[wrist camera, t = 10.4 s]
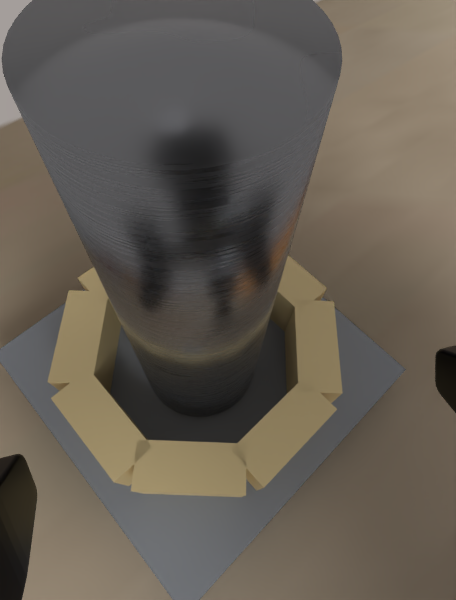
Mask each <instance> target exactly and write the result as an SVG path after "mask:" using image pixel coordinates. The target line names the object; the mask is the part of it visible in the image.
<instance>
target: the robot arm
mask: <svg viewBox="0 0 456 600" xmlns="http://www.w3.org/2000/svg"><path fill="white" fill-rule="evenodd" d="M435 382H436V387H437V389H438V391H439V393H440V394H441V396H442V397H443V398H444V399H445V400H446V402H447V403H448V404H449V405H450V407H451V408H452V409H453V410H454V411H455V413H456V346H451V347H447V348H443V349H440V350H439V351H437V353H436V361H435ZM36 503H37V489H36V485H35V483H34V480H33V478H32V475H31V472H30V470H29V467H28V465H27V462H26V460H25V458H24V457H23V455H21V454H15V455H11V456H7V457H3V458H0V600H22V596H23V592H24V587H25V583H26V578H27V572H28V565H29V558H30V550H31V542H32V535H33V527H34V519H35V511H36Z"/></svg>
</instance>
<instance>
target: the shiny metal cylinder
mask: <svg viewBox="0 0 456 600" xmlns="http://www.w3.org/2000/svg"><path fill="white" fill-rule="evenodd" d="M2 65H3V74H4V77H5V79H6V82H7V85H8V88H9V90H10V92H11V94H12V96H13V99H14V101H15V103H16V105H17V107H18V109H19V111H20V113H21V115H22V117H23V119H24V122H25V124H26V126H27V128H28V130H29V132H30V134H31V136H32V138H33V140H34V142H35V145H36V147H37V149H38V151H39V153H40V155H41V157H42V159H43V161H44V163H45V165H46V168H47V170H48V172H49V174H50V176H51V178H52V180H53V182H54V184H55V186H56V189H57V191H58V193H59V195H60V197H61V199H62V201H63V203H64V205H65V207H66V209H67V212H68V214H69V216H70V218H71V220H72V222H73V224H74V226H75V228H76V230H77V232H78V235H79V237H80V239H81V241H82V243H83V245H84V247H85V249H86V251H87V253H88V256H89V258H90V260H91V262H92V264H93V266H94V268H95V270H96V272H97V274H98V276H99V279H100V281H101V283H102V285H103V287H104V289H105V291H106V293H107V295H108V297H109V299H110V302H111V304H112V306H113V308H114V310H115V312H116V314H117V316H118V318H119V320H120V323H121V325H122V327H123V329H124V331H125V333H126V335H127V337H128V339H129V341H130V343H131V346H132V348H133V350H134V352H135V354H136V356H137V358H138V360H139V362H140V364H141V366H142V369H143V371H144V373H145V375H146V377H147V379H148V381H149V383H150V385H151V387H152V389H153V391H154V393H155V394H156V396H157V397H158V398H159V399H160V400H161V401H162V402H163V403H164V404H165V405H166V406H167V407H169V408H170V409H172V410H174V411H176V412H178V413H181V414H183V415H187V416H194V417H206V416H212V415H216V414H219V413H221V412H223V411H226V410H227V409H229V408H231V407H232V406H233V405H235V404H236V403H237V402H238V401H239V400H240V399H241V398H242V397H243V396H244V394H245V393H246V391H247V390H248V388H249V386H250V384H251V381H252V378H253V375H254V371H255V368H256V364H257V361H258V357H259V354H260V350H261V347H262V343H263V340H264V336H265V333H266V330H267V326H268V323H269V319H270V316H271V312H272V309H273V305H274V302H275V298H276V295H277V291H278V288H279V284H280V281H281V278H282V274H283V271H284V267H285V264H286V260H287V257H288V253H289V250H290V246H291V243H292V239H293V236H294V232H295V229H296V226H297V222H298V219H299V215H300V212H301V208H302V205H303V201H304V198H305V194H306V191H307V187H308V184H309V180H310V177H311V174H312V170H313V167H314V163H315V160H316V156H317V153H318V149H319V146H320V142H321V139H322V135H323V132H324V129H325V125H326V122H327V118H328V115H329V111H330V108H331V104H332V101H333V97H334V94H335V90H336V87H337V83H338V80H339V77H340V72H341V65H342V50H341V45H340V41H339V37H338V34H337V32H336V30H335V28H334V26H333V24H332V22H331V21H330V20H329V18H328V17H327V15H326V14H325V13H324V11H323V10H322V9H321V8H320V7H319V6H318V5H317V4H316V3H315V2H314V1H313V0H33V1H32V2H30V3H29V4H28V5H27V6H26V7H25V8H24V9H23V10H22V12H21V13H20V14H19V15H18V17H17V18H16V19H15V21H14V23H13V24H12V26H11V28H10V29H9V31H8V33H7V36H6V39H5V42H4V46H3V53H2Z"/></svg>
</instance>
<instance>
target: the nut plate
mask: <svg viewBox="0 0 456 600" xmlns="http://www.w3.org/2000/svg"><path fill="white" fill-rule="evenodd" d="M78 279H79V281H80V283H81V284H82V286H83V288H84V290H83V291H74V290H69V291H68V296H67V300H66V303H64V304H63V305H61V306H60V307H59V308H57V309H56V310H54V311H53V312H51V313H50V314H49V315H47V316H46V317H44V318H43V319H41V320H40V321H39V322H37V323H36V324H34V325H33V326H32V327H30V328H29V329H27V330H26V331H24V332H23V333H22V334H20V335H19V336H17V337H16V338H15V339H13V340H12V341H10V342H9V343H7V344H6V345H5V346H3V347H2V348H0V362H1V364H2V365H3V367H4V368H5V369H6V371H7V372H8V373H9V375H10V376H11V378H12V379H13V380H14V382H15V383H16V384H17V386H18V387H19V389H20V390H21V391H22V393H23V394H24V395H25V397H26V398H27V400H28V401H29V402H30V404H31V405H32V406H33V408H34V409H35V411H36V412H37V413H38V415H39V416H40V417H41V419H42V420H43V422H44V423H45V424H46V426H47V427H48V428H49V430H50V431H51V433H52V434H53V435H54V437H55V438H56V439H57V441H58V442H59V444H60V445H61V446H62V448H63V449H64V450H65V452H66V453H67V455H68V456H69V457H70V459H71V460H72V461H73V463H74V464H75V466H76V467H77V468H78V470H79V471H80V472H81V474H82V475H83V477H84V478H85V479H86V481H87V482H88V483H89V485H90V486H91V488H92V489H93V490H94V492H95V493H96V494H97V496H98V497H99V499H100V500H101V501H102V503H103V504H104V506H105V507H106V508H107V510H108V511H109V512H110V514H111V515H112V517H113V518H114V519H115V521H116V522H117V523H118V525H119V526H120V528H121V529H122V530H123V532H124V533H125V534H126V536H127V537H128V539H129V540H130V541H131V543H132V544H133V545H134V547H135V548H136V550H137V551H138V552H139V554H140V555H141V556H142V558H143V559H144V561H145V562H146V563H147V565H148V566H149V567H150V569H151V570H152V572H153V573H154V574H155V576H156V577H157V578H158V580H159V581H160V583H161V584H162V585H163V587H164V588H165V589H166V591H167V592H168V594H169V595H170V596H171V598H172V599H173V600H200V598H201V597H202V596H203V595H204V594H205V593H206V592H207V591H208V589H209V588H210V587H211V586H212V585H213V584H214V583H215V582H216V581H217V579H218V578H219V577H220V576H221V575H222V574H223V573H224V572H225V571H226V569H227V568H228V567H229V566H230V565H231V564H232V563H233V562H234V560H235V559H236V558H237V557H238V556H239V555H240V554H241V553H242V552H243V550H244V549H245V548H246V547H247V546H248V545H249V544H250V543H251V542H252V540H253V539H254V538H255V537H256V536H257V535H258V534H259V533H260V531H261V530H262V529H263V528H264V527H265V526H266V525H267V524H268V523H269V521H270V520H271V519H272V518H273V517H274V516H275V515H276V514H277V513H278V511H279V510H280V509H281V508H282V507H283V506H284V505H285V504H286V503H287V501H288V500H289V499H290V498H291V497H292V496H293V495H294V494H295V492H296V491H297V490H298V489H299V488H300V487H301V486H302V485H303V484H304V482H305V481H306V480H307V479H308V478H309V477H310V476H311V475H312V474H313V472H314V471H315V470H316V469H317V468H318V467H319V466H320V465H321V463H322V462H323V461H324V460H325V459H326V458H327V457H328V456H329V455H330V453H331V452H332V451H333V450H334V449H335V448H336V447H337V446H338V445H339V443H340V442H341V441H342V440H343V439H344V438H345V437H346V436H347V434H348V433H349V432H350V431H351V430H352V429H353V428H354V427H355V426H356V424H357V423H358V422H359V421H360V420H361V419H362V418H363V417H364V416H365V414H366V413H367V412H368V411H369V410H370V409H371V408H372V407H373V405H374V404H375V403H376V402H377V401H378V400H379V399H380V398H381V397H382V395H383V394H384V393H385V392H386V391H387V390H388V389H389V388H390V387H391V385H392V384H393V383H394V382H395V381H396V380H397V379H398V378H399V377H400V375H401V374H402V373H403V372H404V371H405V370H406V369H405V368H404V367H402V366H401V365H400V364H399V363H398V362H397V361H396V360H394V359H393V358H392V357H391V356H390V355H389V354H388V353H386V352H385V351H384V350H383V349H382V348H381V347H380V346H378V345H377V344H376V343H375V342H374V341H373V340H372V339H370V338H369V337H368V336H367V335H366V334H365V333H363V332H362V331H361V330H360V329H359V328H358V327H357V326H355V325H354V324H353V323H352V322H351V321H350V320H349V319H347V318H346V317H345V316H344V315H343V314H342V313H341V312H339V311H338V310H337V309H336V308H335V307H334V301H327V300H326V299H324V298H323V295H324V293H325V291H326V289H327V288H326V287H325V286H324V285H323V284H321V283H320V282H319V281H318V280H317V279H316V278H314V277H313V276H312V275H311V274H310V273H309V272H307V271H306V270H305V269H304V268H303V267H302V266H300V265H299V264H298V263H297V262H296V261H295V260H293V259H292V258H291V257H290V256H289V255H288V257H287V260H286V264H285V267H284V271H283V274H282V278H281V281H280V284H279V288H278V291H277V295H276V298H275V302H274V305H273V309H272V312H271V316H270V319H269V323H268V326H267V330H266V333H265V336H264V340H263V343H262V347H261V350H260V354H259V357H258V361H257V364H256V368H255V371H254V375H253V378H252V381H251V384H250V386H249V388H248V390H247V391H246V393H245V394H244V396H243V397H242V398H241V399H240V400H239V401H238V402H237V403H236V404H235V405H233V406H232V407H231V408H229V409H227V410H226V411H223V412H221V413H219V414H216V415H212V416H206V417H194V416H187V415H183V414H181V413H178V412H176V411H174V410H172V409H170V408H169V407H167V406H166V405H165V404H164V403H163V402H162V401H161V400H160V399H159V398H158V397H157V396H156V394H155V393H154V391H153V389H152V387H151V385H150V383H149V381H148V379H147V377H146V375H145V373H144V371H143V369H142V366H141V364H140V362H139V360H138V358H137V356H136V354H135V352H134V350H133V348H132V346H131V343H130V341H129V339H128V337H127V335H126V333H125V331H124V329H123V327H122V325H121V323H120V320H119V318H118V316H117V314H116V312H115V310H114V308H113V306H112V304H111V302H110V299H109V297H108V295H107V293H106V291H105V289H104V287H103V285H102V283H101V281H100V279H99V276H98V274H97V272H96V270H95V268H94V267H93V268H91V269H90V270H88V271H87V272H85V273H84V274H82V275H81V276H80V277H78Z"/></svg>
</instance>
